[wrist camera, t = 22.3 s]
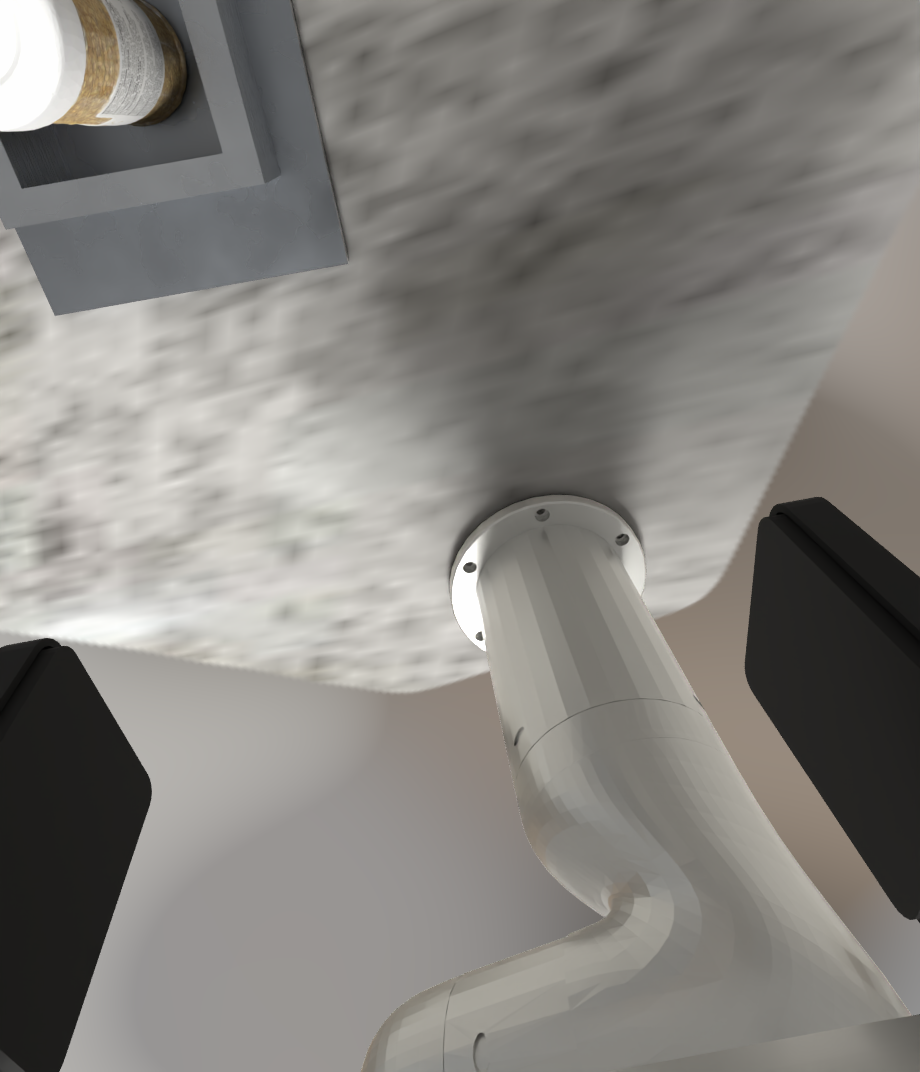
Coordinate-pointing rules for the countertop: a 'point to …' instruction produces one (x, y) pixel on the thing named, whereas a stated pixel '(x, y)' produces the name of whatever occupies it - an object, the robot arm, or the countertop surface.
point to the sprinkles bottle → (87, 64)
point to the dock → (183, 174)
